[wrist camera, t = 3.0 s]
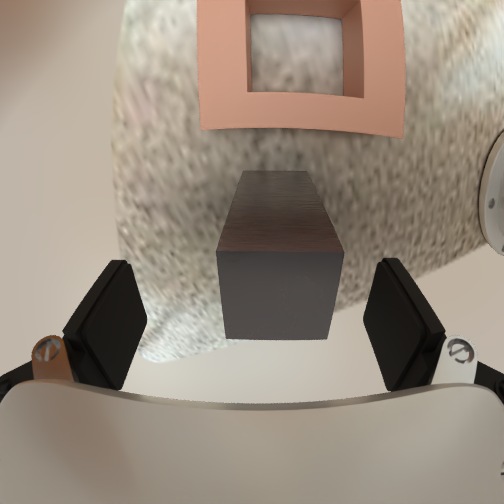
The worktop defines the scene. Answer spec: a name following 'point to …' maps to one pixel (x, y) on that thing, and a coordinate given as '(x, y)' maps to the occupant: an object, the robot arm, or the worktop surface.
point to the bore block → (304, 104)
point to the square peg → (278, 260)
